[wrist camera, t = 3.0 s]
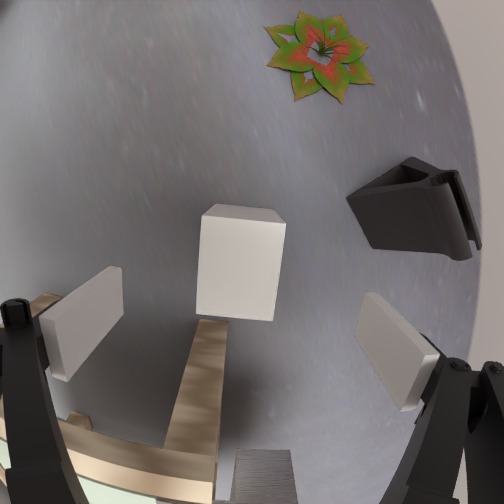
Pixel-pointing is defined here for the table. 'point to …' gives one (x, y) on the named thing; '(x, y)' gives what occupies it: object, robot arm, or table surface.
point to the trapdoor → (241, 500)
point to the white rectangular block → (239, 262)
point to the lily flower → (325, 76)
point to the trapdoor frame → (178, 436)
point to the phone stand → (417, 211)
